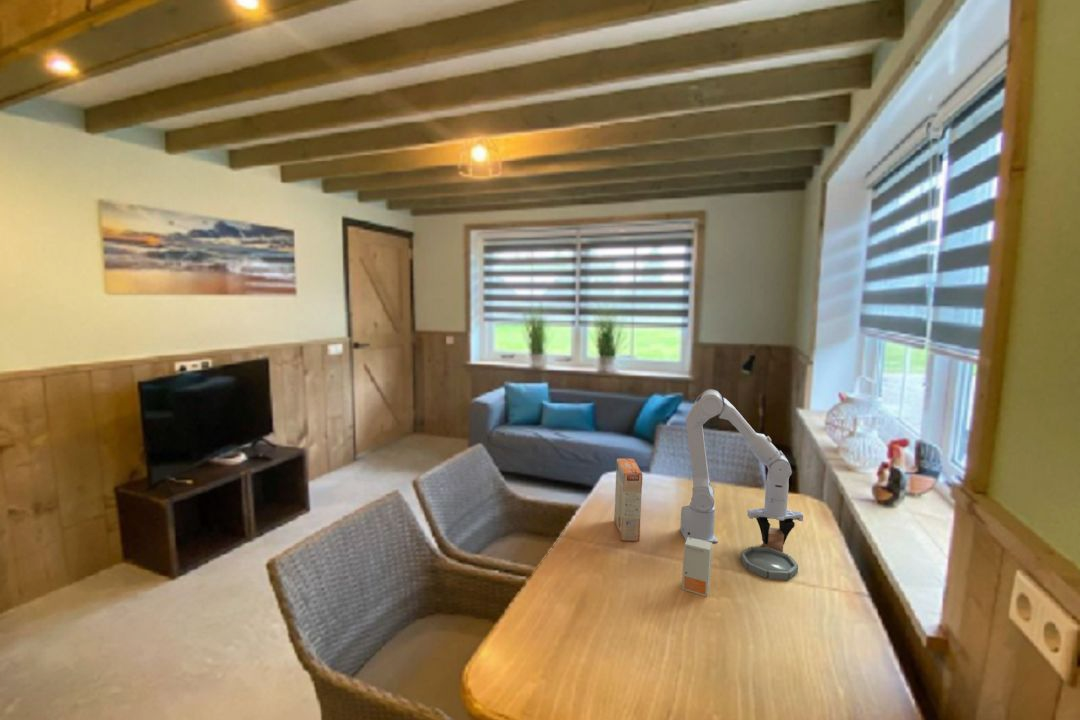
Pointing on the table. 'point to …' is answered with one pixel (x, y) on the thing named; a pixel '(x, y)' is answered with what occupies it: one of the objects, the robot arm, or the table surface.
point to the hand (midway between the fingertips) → (773, 542)
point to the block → (775, 539)
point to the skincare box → (697, 566)
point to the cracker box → (628, 499)
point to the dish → (769, 563)
